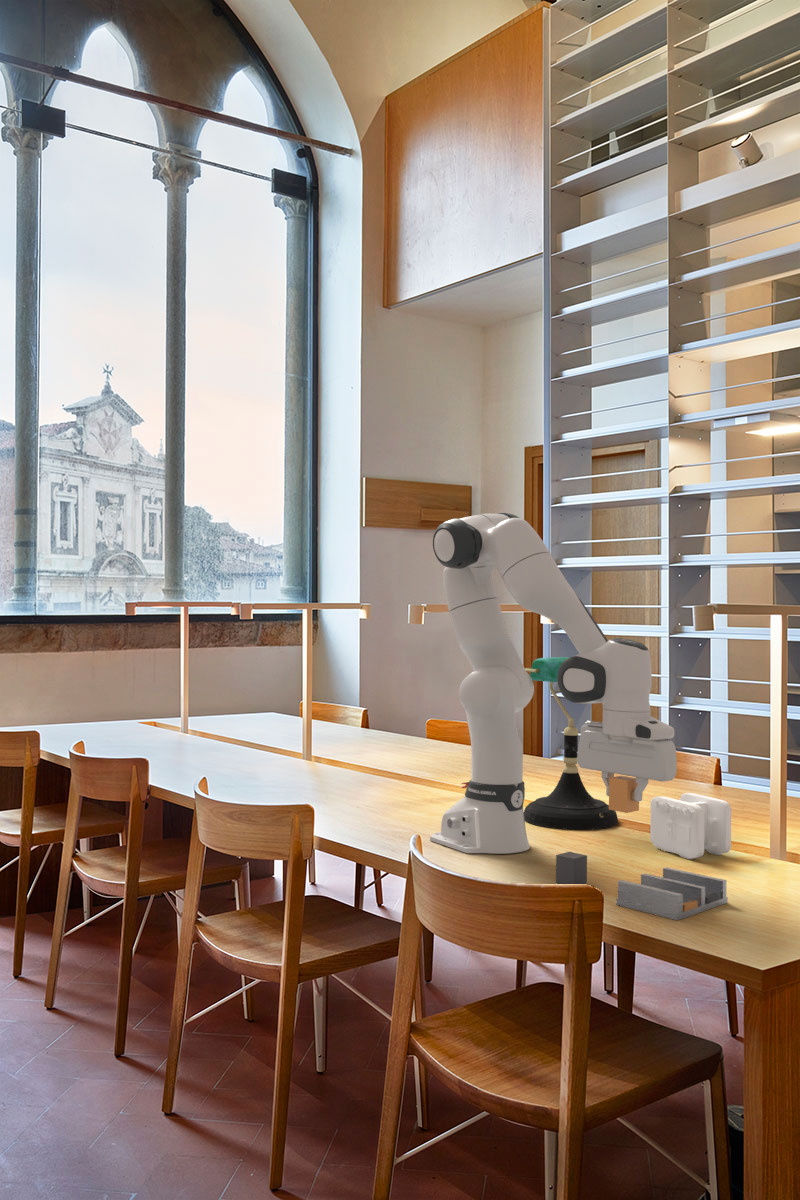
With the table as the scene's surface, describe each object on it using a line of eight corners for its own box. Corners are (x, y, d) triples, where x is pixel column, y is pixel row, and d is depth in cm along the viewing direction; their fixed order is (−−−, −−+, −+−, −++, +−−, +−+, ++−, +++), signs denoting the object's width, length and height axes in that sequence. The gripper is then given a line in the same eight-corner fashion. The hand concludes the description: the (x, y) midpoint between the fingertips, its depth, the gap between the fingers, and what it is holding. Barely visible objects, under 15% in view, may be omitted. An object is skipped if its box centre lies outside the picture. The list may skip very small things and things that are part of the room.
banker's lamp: (561, 834, 233) (563, 659, 234) (498, 817, 252) (499, 655, 253) (643, 823, 248) (644, 658, 248) (577, 807, 267) (578, 654, 268)
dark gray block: (555, 887, 187) (556, 854, 188) (569, 883, 190) (569, 851, 190) (573, 892, 185) (573, 858, 185) (586, 888, 187) (587, 855, 187)
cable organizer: (734, 858, 212) (735, 802, 212) (695, 863, 208) (696, 806, 208) (685, 843, 226) (685, 791, 226) (647, 848, 221) (647, 794, 221)
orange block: (608, 809, 193) (609, 777, 193) (621, 806, 195) (621, 775, 195) (626, 813, 190) (627, 780, 190) (638, 810, 192) (639, 778, 192)
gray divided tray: (616, 904, 177) (616, 881, 177) (667, 888, 187) (667, 866, 187) (677, 920, 168) (677, 896, 168) (727, 902, 179) (727, 879, 179)
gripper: (571, 720, 198) (569, 791, 198) (663, 732, 183) (661, 809, 183) (591, 718, 202) (589, 788, 202) (682, 730, 187) (680, 805, 187)
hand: (624, 798), depth 192 cm, fingers closed on orange block, 4 cm apart
